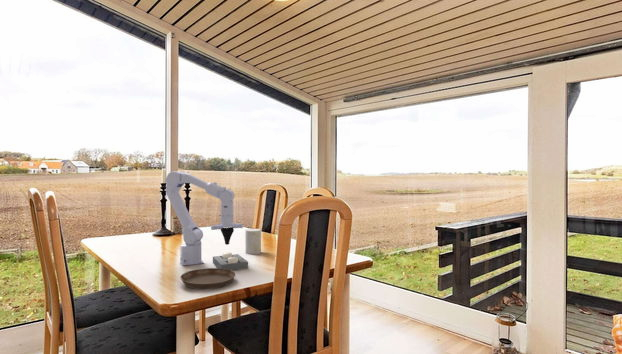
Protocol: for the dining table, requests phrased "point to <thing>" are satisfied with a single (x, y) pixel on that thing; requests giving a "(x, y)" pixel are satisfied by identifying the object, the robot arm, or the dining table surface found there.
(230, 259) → the near knob
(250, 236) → the cup
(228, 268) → the slate mount
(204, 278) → the plant saucer
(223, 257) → the far knob
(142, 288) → the dining table surface
